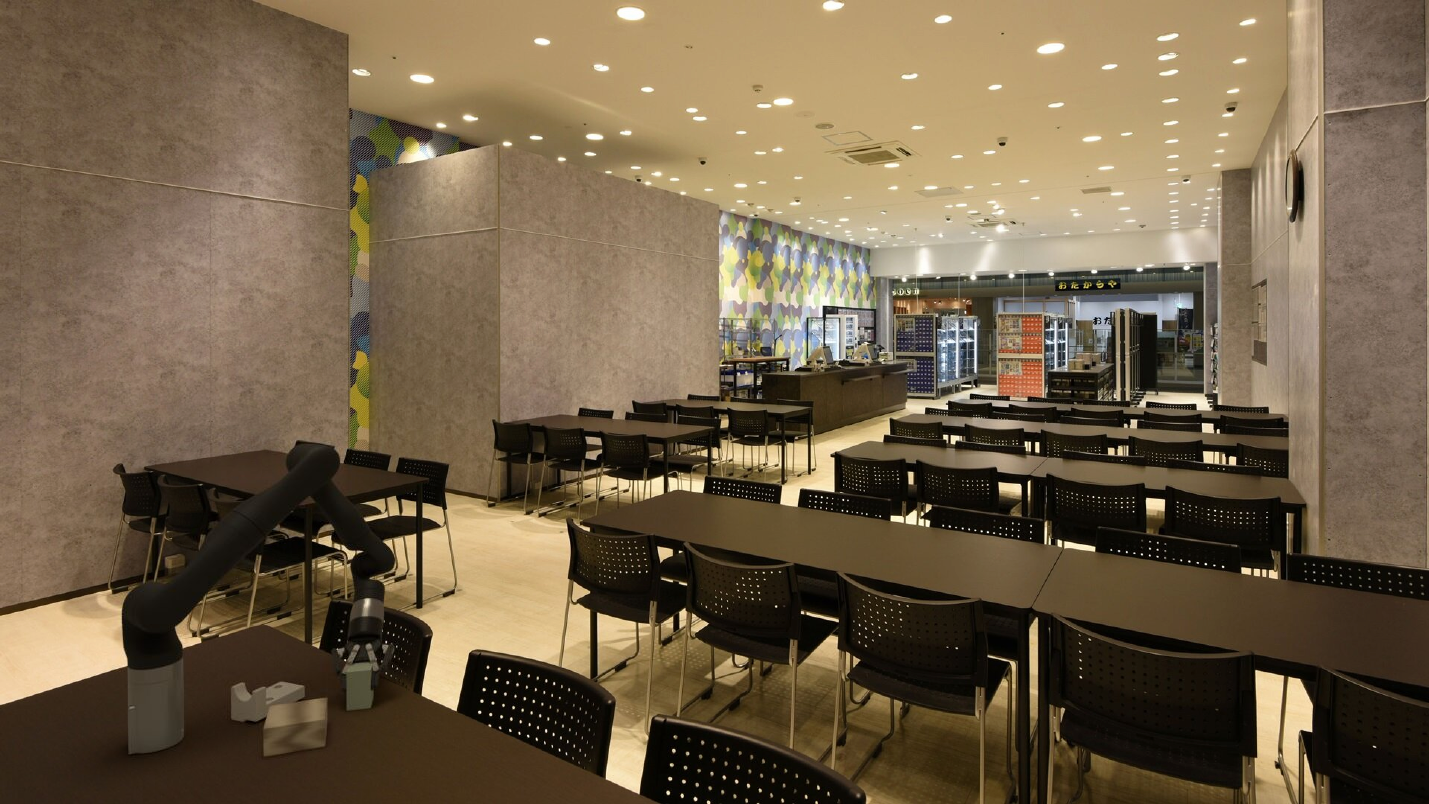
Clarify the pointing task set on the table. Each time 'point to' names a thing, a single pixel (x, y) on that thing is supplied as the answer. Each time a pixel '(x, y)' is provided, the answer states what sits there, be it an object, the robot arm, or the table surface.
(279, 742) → the birch block
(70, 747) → the table surface
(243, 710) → the bracket
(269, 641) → the table surface
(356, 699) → the green prism
